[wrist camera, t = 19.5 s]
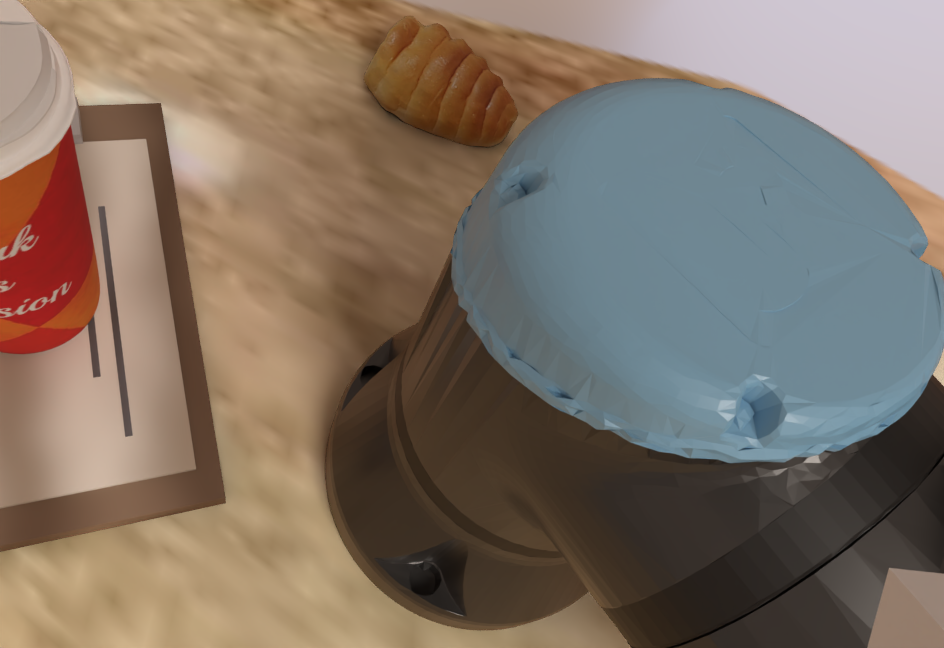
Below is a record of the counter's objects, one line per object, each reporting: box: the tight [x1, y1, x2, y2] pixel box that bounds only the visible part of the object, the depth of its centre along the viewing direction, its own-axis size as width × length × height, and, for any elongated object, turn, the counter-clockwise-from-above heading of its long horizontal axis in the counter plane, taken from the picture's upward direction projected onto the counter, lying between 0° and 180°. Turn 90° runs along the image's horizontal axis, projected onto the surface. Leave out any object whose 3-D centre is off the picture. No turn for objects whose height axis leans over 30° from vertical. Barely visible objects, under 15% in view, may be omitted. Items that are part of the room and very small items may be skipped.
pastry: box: [364, 16, 518, 147], centre depth 47 cm, size 9×7×4 cm
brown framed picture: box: [0, 97, 226, 552], centre depth 35 cm, size 14×22×2 cm, turn 17°
